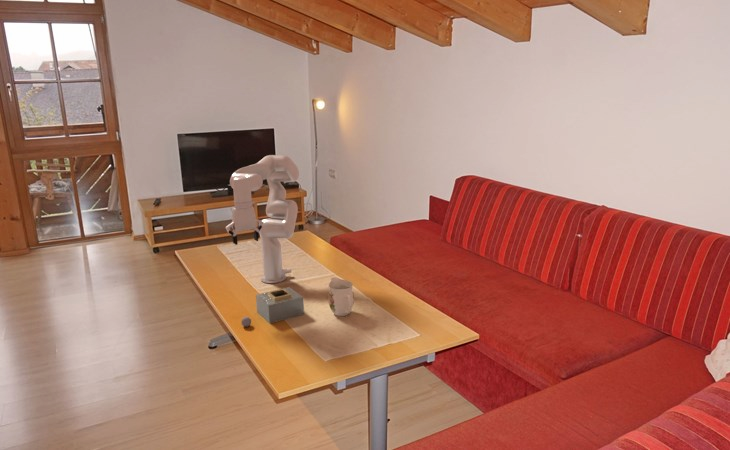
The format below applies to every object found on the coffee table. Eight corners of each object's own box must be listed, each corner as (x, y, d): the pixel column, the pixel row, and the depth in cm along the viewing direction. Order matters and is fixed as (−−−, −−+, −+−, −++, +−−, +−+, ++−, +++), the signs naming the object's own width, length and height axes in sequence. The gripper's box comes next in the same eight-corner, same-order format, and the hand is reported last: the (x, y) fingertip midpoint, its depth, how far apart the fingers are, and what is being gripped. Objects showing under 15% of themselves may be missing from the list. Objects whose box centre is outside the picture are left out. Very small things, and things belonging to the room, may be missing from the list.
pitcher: (339, 324, 225) (338, 293, 221) (322, 308, 240) (321, 279, 236) (363, 319, 229) (362, 288, 226) (345, 303, 245) (344, 275, 241)
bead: (238, 318, 224) (242, 326, 226) (241, 322, 221) (245, 329, 222) (246, 313, 225) (250, 321, 227) (250, 317, 222) (254, 324, 224)
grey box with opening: (290, 303, 246) (289, 284, 244) (304, 314, 235) (303, 294, 232) (257, 311, 238) (255, 292, 235) (269, 323, 227) (268, 303, 224)
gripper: (258, 200, 245) (261, 237, 250) (221, 206, 236) (224, 243, 241) (265, 203, 239) (267, 241, 243) (226, 209, 230) (230, 247, 235)
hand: (246, 242), depth 242 cm, fingers open, 9 cm apart
